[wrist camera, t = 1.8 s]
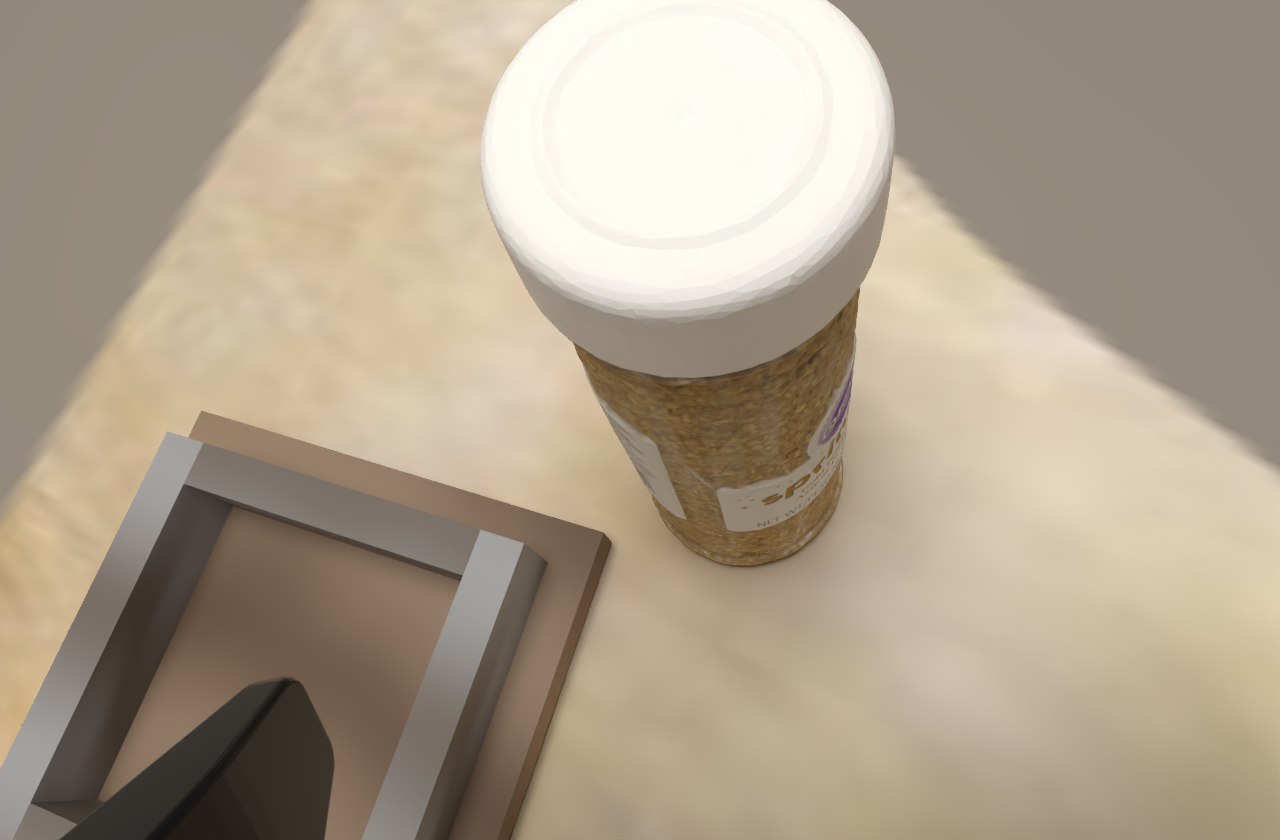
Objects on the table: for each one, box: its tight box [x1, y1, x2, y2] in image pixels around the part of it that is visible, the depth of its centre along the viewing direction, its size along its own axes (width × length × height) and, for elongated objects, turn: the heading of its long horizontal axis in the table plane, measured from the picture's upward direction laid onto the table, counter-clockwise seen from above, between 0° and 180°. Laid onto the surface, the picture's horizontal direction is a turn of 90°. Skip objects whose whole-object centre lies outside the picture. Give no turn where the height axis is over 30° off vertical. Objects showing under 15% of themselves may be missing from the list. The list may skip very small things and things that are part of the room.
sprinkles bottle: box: [480, 0, 895, 565], centre depth 16 cm, size 5×5×13 cm
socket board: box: [0, 411, 611, 840], centre depth 21 cm, size 11×11×3 cm
